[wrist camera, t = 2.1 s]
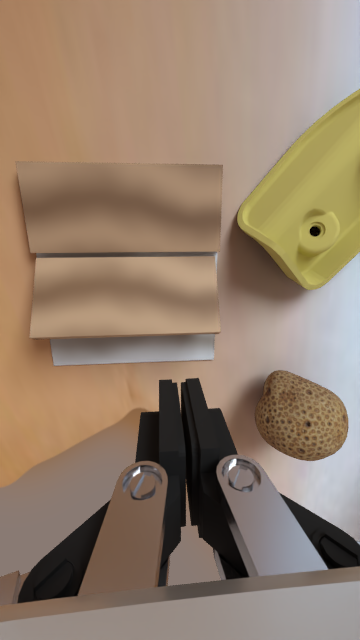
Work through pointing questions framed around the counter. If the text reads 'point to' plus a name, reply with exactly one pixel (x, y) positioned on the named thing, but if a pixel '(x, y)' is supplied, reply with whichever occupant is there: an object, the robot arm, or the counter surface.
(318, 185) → the plastic component
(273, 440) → the natural sponge
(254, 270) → the counter surface
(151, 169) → the laid floor
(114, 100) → the counter surface
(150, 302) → the plank
